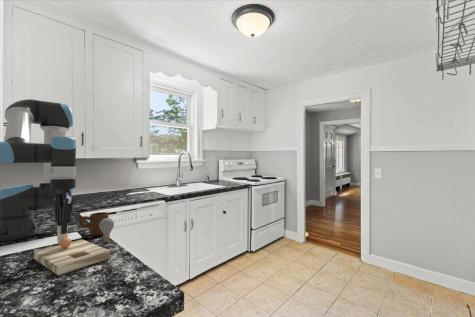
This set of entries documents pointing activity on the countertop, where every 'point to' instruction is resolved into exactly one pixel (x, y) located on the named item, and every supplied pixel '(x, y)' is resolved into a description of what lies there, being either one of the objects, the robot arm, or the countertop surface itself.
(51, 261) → the wooden board with hole
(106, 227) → the light bulb
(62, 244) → the ball
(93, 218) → the mug
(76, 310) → the countertop surface
